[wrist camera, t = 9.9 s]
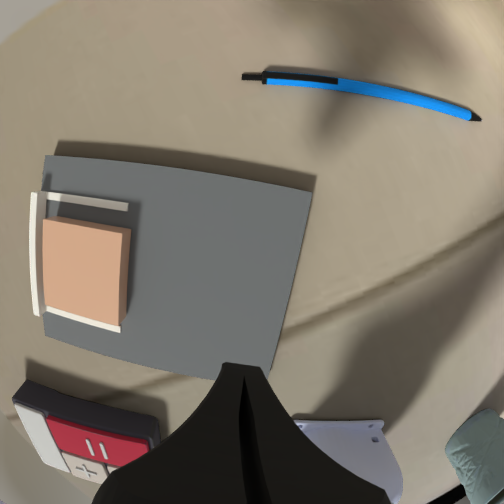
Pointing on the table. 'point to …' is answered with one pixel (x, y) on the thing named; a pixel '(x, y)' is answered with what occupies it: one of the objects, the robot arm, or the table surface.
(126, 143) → the table surface
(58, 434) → the calculator
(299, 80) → the pen
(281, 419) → the robot arm
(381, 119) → the table surface
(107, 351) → the mat
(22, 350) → the table surface
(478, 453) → the green cup
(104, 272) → the tile
